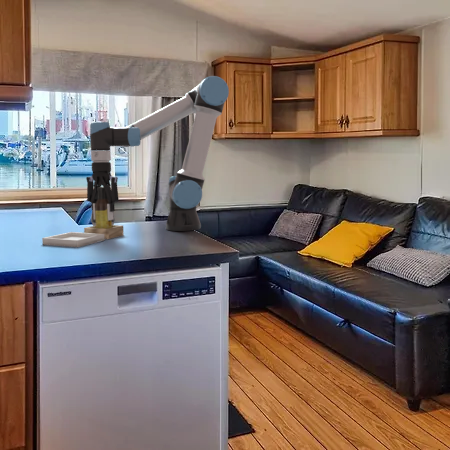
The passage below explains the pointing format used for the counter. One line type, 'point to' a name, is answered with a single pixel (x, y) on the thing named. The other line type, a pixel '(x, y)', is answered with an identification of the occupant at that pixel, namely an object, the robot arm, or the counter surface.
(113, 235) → the oak holder
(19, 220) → the counter surface
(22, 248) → the counter surface
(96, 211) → the sauce bottle
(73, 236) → the grey tray
